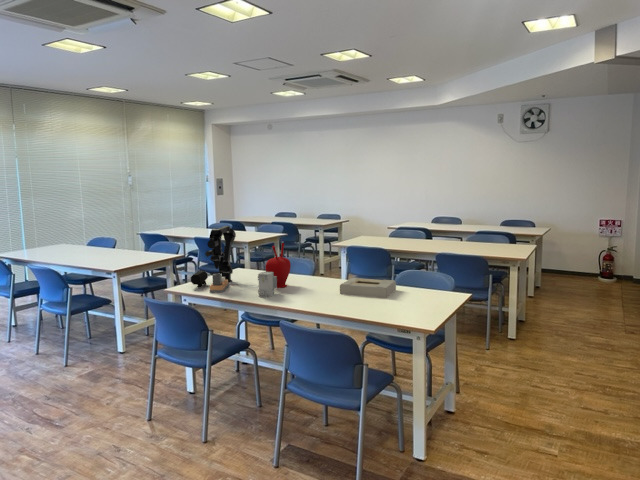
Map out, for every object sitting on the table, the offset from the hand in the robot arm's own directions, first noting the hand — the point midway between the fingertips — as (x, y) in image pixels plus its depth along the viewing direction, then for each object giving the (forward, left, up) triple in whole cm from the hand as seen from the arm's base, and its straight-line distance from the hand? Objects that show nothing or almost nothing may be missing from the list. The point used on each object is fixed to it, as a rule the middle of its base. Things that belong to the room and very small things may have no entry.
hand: (218, 267), depth 332 cm
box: (-39, +101, -14) cm, 109 cm away
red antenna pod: (-21, +39, -13) cm, 46 cm away
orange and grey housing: (+7, +8, -13) cm, 17 cm away
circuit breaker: (+1, +48, -13) cm, 50 cm away
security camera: (+8, -11, -13) cm, 19 cm away
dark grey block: (+12, +11, -12) cm, 20 cm away
